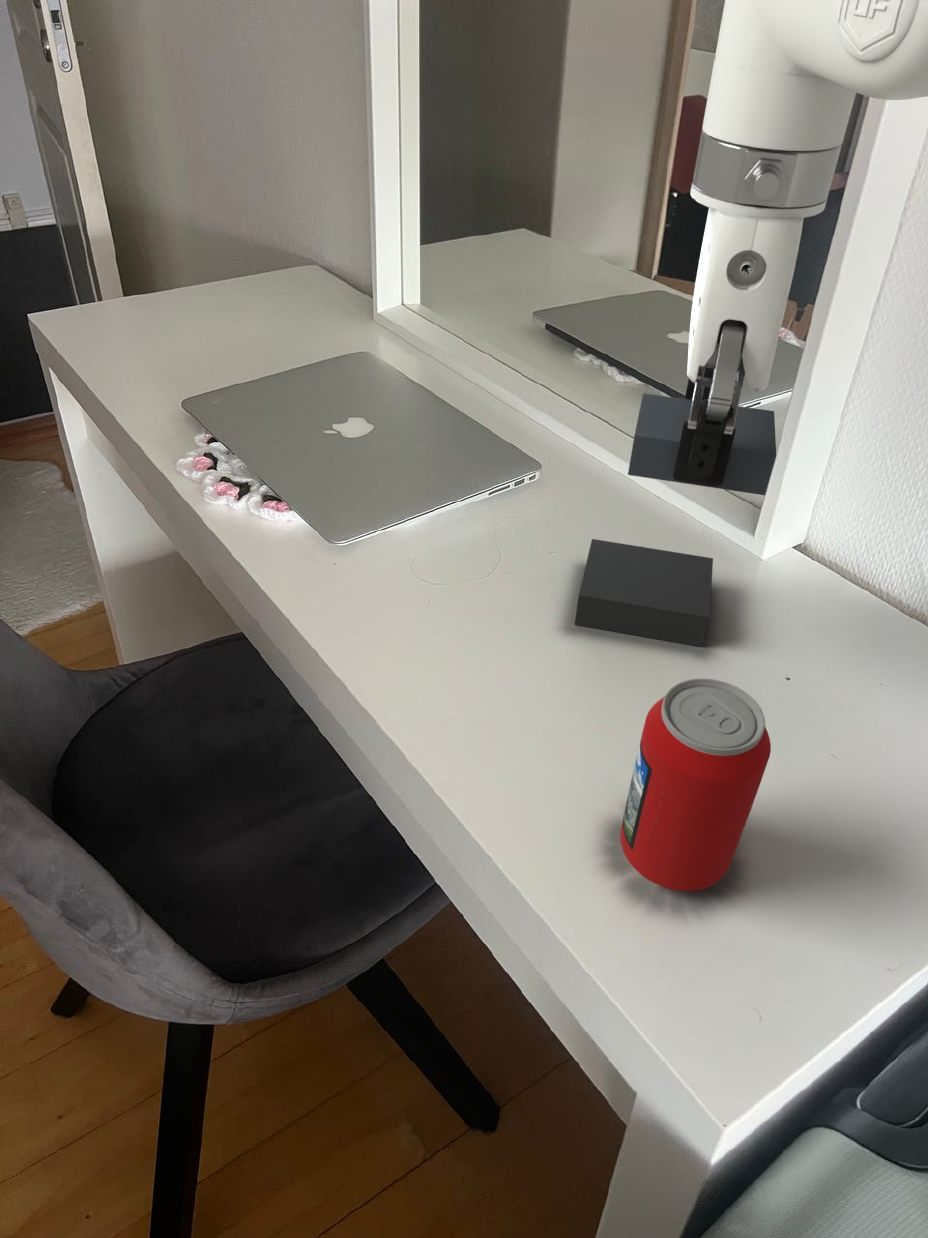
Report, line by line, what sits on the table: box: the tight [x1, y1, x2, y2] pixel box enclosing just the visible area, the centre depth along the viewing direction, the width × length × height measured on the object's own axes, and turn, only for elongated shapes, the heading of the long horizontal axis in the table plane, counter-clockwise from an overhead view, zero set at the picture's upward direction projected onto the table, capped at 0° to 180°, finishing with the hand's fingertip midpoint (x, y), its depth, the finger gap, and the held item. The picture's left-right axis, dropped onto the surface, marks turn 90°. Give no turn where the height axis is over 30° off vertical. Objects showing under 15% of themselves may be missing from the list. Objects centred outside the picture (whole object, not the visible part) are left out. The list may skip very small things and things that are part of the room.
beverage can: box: [619, 678, 772, 892], centre depth 52 cm, size 7×7×12 cm
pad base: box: [574, 538, 714, 648], centre depth 74 cm, size 10×8×3 cm
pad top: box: [627, 393, 777, 496], centre depth 62 cm, size 9×6×3 cm
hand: (699, 453), depth 62 cm, fingers closed on pad top, 6 cm apart
